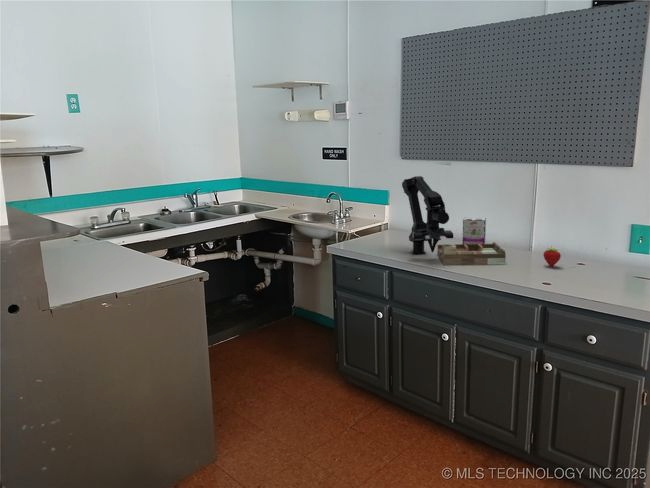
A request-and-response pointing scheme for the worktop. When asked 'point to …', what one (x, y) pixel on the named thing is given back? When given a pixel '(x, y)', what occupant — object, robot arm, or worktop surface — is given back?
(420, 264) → the worktop surface
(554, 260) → the strawberry
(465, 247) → the brown wooden tray
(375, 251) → the worktop surface
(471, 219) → the candy bar box
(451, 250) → the birch block
